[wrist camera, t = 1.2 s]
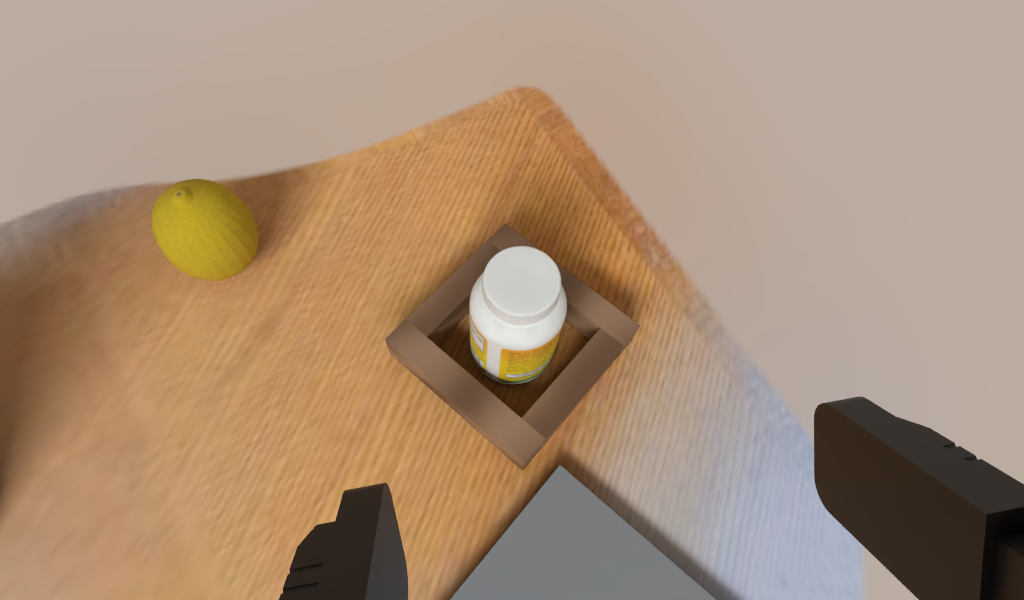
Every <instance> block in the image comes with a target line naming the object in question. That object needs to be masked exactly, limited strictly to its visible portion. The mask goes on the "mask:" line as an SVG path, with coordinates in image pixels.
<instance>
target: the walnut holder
mask: <svg viewBox="0 0 1024 600" xmlns="http://www.w3.org/2000/svg"><path fill="white" fill-rule="evenodd" d="M515 246H528V247H532V248H535V249H538V248H537V247H536V246H534V245H533V244H532V243H530V242H529V241H528V240H526V239H525V238H524V237H522V236H521V235H520V234H519V233H517V232H516V231H515V230H513V229H512V228H511V227H509V226H508V225H507V224H505V225H503V226H502V227H501V228H500V229H499V230H498V231H497V232H496V233H495V234H494V235H493V236H492V237H491V238H490V239H489V240H488V241H487V242H486V243H485V244H484V245H483V246H482V247H481V248H479V249H478V250H477V251H476V252H475V253H474V254H473V255H472V256H471V257H470V258H469V259H468V260H467V261H466V262H465V263H464V264H463V265H462V266H461V267H460V268H459V269H458V270H457V271H455V272H454V273H453V274H452V275H451V276H450V277H449V278H448V279H447V280H446V281H445V282H444V283H443V284H442V285H441V286H440V287H439V288H438V289H437V290H436V291H435V292H434V293H433V294H431V295H430V296H429V297H428V298H427V299H426V300H425V301H424V302H423V303H422V304H421V305H420V306H419V307H418V308H417V309H416V310H415V311H414V312H413V313H412V314H411V315H410V316H409V317H407V318H406V319H405V320H404V321H403V322H402V323H401V324H400V325H399V326H398V327H397V328H396V329H395V330H394V331H393V332H392V333H391V334H390V335H389V336H388V337H387V338H386V339H385V341H386V343H387V346H388V348H389V351H390V354H391V355H393V356H394V357H395V358H396V359H397V360H398V361H399V362H400V363H402V364H403V365H404V366H405V367H406V368H407V369H408V370H409V371H411V372H412V373H413V374H414V375H415V376H416V377H417V378H419V379H420V380H421V381H422V382H423V383H424V384H425V385H426V386H428V387H429V388H430V389H431V390H432V391H433V392H434V393H435V394H437V395H438V396H439V397H440V398H441V399H442V400H443V401H445V402H446V403H447V404H448V405H449V406H450V407H451V408H452V409H454V410H455V411H456V412H457V413H458V414H459V415H460V416H461V417H463V418H464V419H465V420H466V421H467V422H468V423H469V424H471V425H472V426H473V427H474V428H475V429H476V430H477V431H478V432H480V433H481V434H482V435H483V436H484V437H485V438H486V439H487V440H489V441H490V442H491V443H492V444H493V445H494V446H495V447H497V448H498V449H499V450H500V451H501V452H502V453H503V454H504V455H506V456H507V457H508V458H509V459H510V460H511V461H512V462H514V463H515V464H516V465H517V466H518V467H519V468H520V469H521V470H523V469H524V468H525V467H526V466H527V464H528V463H529V462H530V461H531V460H532V458H533V457H534V456H535V455H536V454H537V452H538V451H539V450H540V449H541V448H542V446H543V445H544V444H545V443H546V442H547V440H548V439H549V438H550V437H551V436H552V435H553V433H554V432H555V431H556V430H557V429H558V427H559V426H560V425H561V424H562V423H563V421H564V420H565V419H566V418H567V417H568V415H569V414H570V413H571V412H572V411H573V410H574V408H575V407H576V406H577V405H578V404H579V402H580V401H581V400H582V399H583V398H584V396H585V395H586V394H587V393H588V392H589V390H590V389H591V388H592V387H593V386H594V384H595V383H596V382H597V381H598V380H599V379H600V377H601V376H602V375H603V374H604V373H605V371H606V370H607V369H608V368H609V367H610V365H611V364H612V363H613V362H614V361H615V359H616V358H617V357H618V356H619V355H620V353H621V352H622V351H623V350H624V349H625V348H626V346H627V345H628V344H629V343H630V342H631V340H632V339H633V337H634V335H635V334H636V332H637V330H638V328H639V327H640V325H638V324H637V323H636V322H634V321H633V320H632V319H630V318H629V317H628V316H627V315H625V314H624V313H623V312H621V311H620V310H619V309H617V308H616V307H615V306H613V305H612V304H611V303H609V302H608V301H607V300H605V299H604V298H603V297H602V296H600V295H599V294H598V293H596V292H595V291H594V290H592V289H591V288H590V287H588V286H587V285H586V284H584V283H583V282H582V281H580V280H579V279H578V278H576V277H575V276H574V275H573V274H571V273H570V272H569V271H567V270H566V269H565V268H563V267H562V266H561V265H559V264H558V263H557V262H555V261H554V260H553V259H552V260H553V261H554V262H555V264H556V265H557V267H558V269H559V272H560V275H561V285H562V286H563V289H564V291H565V294H566V300H567V312H566V317H565V321H567V322H568V323H569V324H571V325H572V326H573V327H574V328H576V329H577V330H578V331H579V332H581V333H582V334H583V335H585V336H586V337H587V338H588V339H590V340H589V342H588V343H587V344H586V345H585V346H584V347H583V349H582V350H581V351H580V352H579V353H578V354H577V355H576V357H575V358H574V359H573V360H572V361H571V362H570V363H569V365H568V366H567V367H566V368H565V369H564V370H563V371H562V373H561V374H560V375H559V376H558V377H557V378H556V379H555V381H554V382H553V383H552V384H551V385H550V386H549V387H548V389H547V390H546V391H545V392H544V393H543V394H542V395H541V397H540V398H539V399H538V400H537V401H536V402H535V403H534V405H533V406H532V407H531V408H530V409H529V410H528V411H527V413H526V414H525V415H524V416H523V417H522V418H521V417H519V416H518V415H517V414H516V413H515V412H514V411H512V410H511V409H510V408H509V407H508V406H507V405H505V404H504V403H503V402H502V401H501V400H500V399H498V398H497V397H496V396H495V395H494V394H493V393H491V392H490V391H489V390H488V389H487V388H486V387H484V386H483V385H482V384H481V383H480V382H479V381H477V380H476V379H475V378H474V377H473V376H472V375H470V374H469V373H468V372H467V371H466V370H465V369H463V368H462V367H461V366H460V365H459V364H458V363H456V362H455V361H454V360H453V359H452V358H450V357H449V356H448V355H447V354H446V353H445V352H443V351H442V350H441V349H440V348H439V347H438V346H436V345H437V344H438V343H439V342H440V341H441V340H442V339H443V338H444V337H445V336H446V335H447V334H448V333H449V332H450V331H451V330H452V329H453V328H454V327H455V326H456V325H457V324H458V323H459V322H460V321H461V320H462V319H463V318H464V317H465V316H466V315H467V314H468V313H469V304H470V295H471V291H472V289H473V286H474V284H475V282H476V281H477V279H478V278H479V277H480V275H481V274H482V273H483V272H484V270H485V268H486V266H487V264H488V262H489V261H490V260H491V259H492V258H493V257H494V256H495V255H496V254H497V253H499V252H500V251H502V250H504V249H506V248H510V247H515ZM538 250H540V249H538ZM540 251H541V250H540Z"/></svg>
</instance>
